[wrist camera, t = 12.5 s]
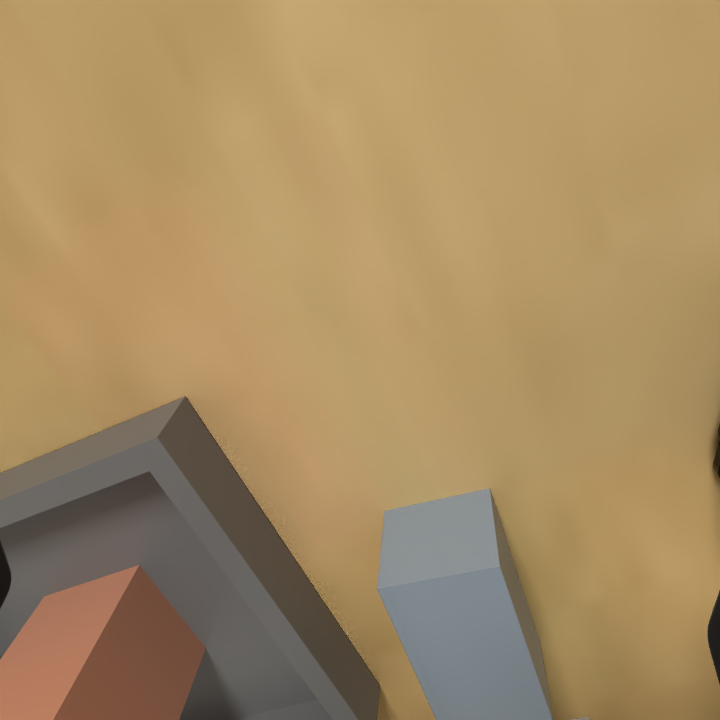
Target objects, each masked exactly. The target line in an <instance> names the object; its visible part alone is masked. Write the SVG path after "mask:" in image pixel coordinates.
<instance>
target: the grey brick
mask: <svg viewBox="0 0 720 720" xmlns="http://www.w3.org/2000/svg"><path fill="white" fill-rule="evenodd" d="M571 720H590V718H589V716H588V717H582V718H577V719H571Z"/></svg>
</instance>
